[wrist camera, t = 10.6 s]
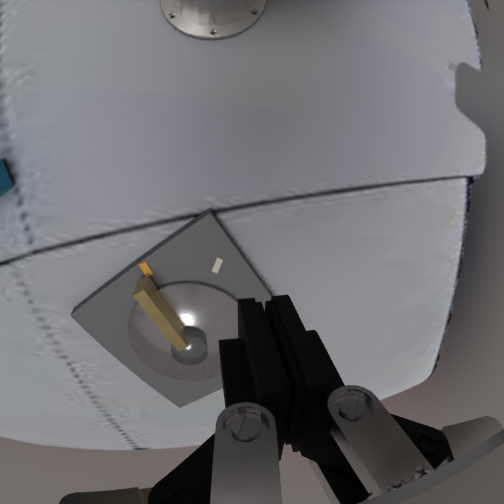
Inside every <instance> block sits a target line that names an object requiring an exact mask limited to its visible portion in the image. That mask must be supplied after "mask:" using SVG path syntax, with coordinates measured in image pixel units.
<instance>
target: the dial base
mask: <svg viewBox="0 0 504 504" xmlns="http://www.w3.org/2000/svg"><path fill="white" fill-rule="evenodd" d="M146 276H149V278H150V279H151V281H152V282H153V283H154V285H155V286H156V288H158V287H160V286H163V285H166V284H170V283H176V282H199V283H204V284H208V285H212V286H215V287H217V288H219V289H222V290H223V291H225V292H227V293H229V294H230V295H231V296H233V297H234V298H235V299H236V300H237V301H238V299H242V298H255V300H256V302H260V301H261V302H262V305H263V307H264V310H265V302H266V301H271V297H272V296H273V295H272V293H271V292H270V291H269V289H268V288H267V287H266V285H265V284H264V283H263V281H262V280H261V278H260V277H259V276H258V274H257V273H256V272H255V270H254V269H253V267H252V266H251V265H250V263H249V262H248V261H247V259H246V258H245V256H244V255H243V254H242V252H241V251H240V250H239V248H238V247H237V245H236V244H235V243H234V241H233V240H232V239H231V237H230V236H229V234H228V233H227V232H226V230H225V229H224V228H223V226H222V225H221V223H220V222H219V221H218V219H217V218H216V216H215V215H214V214H213V212H212V211H211V210H210V208H209V209H208V210H206V211H205V212H204V213H202V214H201V215H199V216H198V217H196V218H195V219H193V220H192V221H190V222H189V223H187V224H186V225H185V226H183V227H182V228H180V229H179V230H177V231H176V232H175V233H173V234H172V235H170V236H169V237H168V238H166V239H165V240H163V241H162V242H160V243H159V244H158V245H156V246H155V247H154V248H152V249H151V250H149V251H148V252H147V253H145V254H144V255H143V256H141V257H140V258H138V259H137V260H136V261H134V262H133V263H132V264H130V265H129V266H128V267H126V268H125V269H124V270H122V271H121V272H120V273H118V274H117V275H116V276H114V277H113V278H112V279H110V280H109V281H108V282H107V283H105V284H104V285H103V286H101V287H100V288H99V289H97V290H96V291H95V292H94V293H92V294H91V295H90V296H89V297H87V298H86V299H85V300H83V301H82V302H81V303H80V304H78V305H77V306H76V307H75V308H74V309H73V311H72V313H71V315H70V316H71V317H72V318H73V319H74V320H75V321H76V322H77V323H79V324H80V325H81V326H82V327H83V328H84V329H85V330H86V331H87V332H88V333H89V334H90V335H91V336H92V337H93V338H94V339H95V340H96V341H97V342H99V343H100V344H101V345H102V346H103V347H104V348H105V349H106V350H107V351H109V352H110V353H111V354H112V355H113V356H114V357H115V358H117V359H118V360H119V361H120V362H121V363H122V364H124V365H125V366H126V367H127V368H128V369H130V370H131V371H132V372H133V373H134V374H136V375H137V376H138V377H139V378H141V379H142V380H143V381H145V382H146V383H147V384H148V385H150V386H151V387H152V388H154V389H155V390H156V391H158V392H159V393H160V394H162V395H163V396H164V397H166V398H167V399H168V400H170V401H171V402H173V403H174V404H175V405H177V406H178V407H183V406H185V405H187V404H189V403H191V402H194V401H196V400H198V399H200V398H202V397H204V396H207V395H209V394H211V393H213V392H215V391H217V390H219V389H221V388H223V384H222V375H220V376H217V377H214V378H210V379H206V380H198V381H185V380H177V379H173V378H169V377H166V376H163V375H161V374H159V373H157V372H155V371H153V370H152V369H150V368H149V367H147V366H146V365H145V364H144V363H143V362H141V361H140V359H139V358H138V357H137V356H136V354H135V353H134V351H133V350H132V348H131V345H130V342H129V339H128V323H129V319H130V315H131V313H132V311H133V309H134V307H135V305H136V304H137V303H138V301H137V300H136V299H135V297H134V296H133V295H134V291H135V288H136V285H137V282H138V281H139V280H140V279H142V278H144V277H146Z"/></svg>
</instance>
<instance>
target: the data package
mask: <svg viewBox="0 0 504 504" xmlns="http://www.w3.org/2000/svg"><path fill="white" fill-rule="evenodd" d="M12 186H13V184H12V181H11V179H10V177H9V174H8V172H7V169H6V167H5V164H4V162H3V159H2V158H0V196H2V195H3V194H4V193H5V192H7V191H8V190H9V189H11V188H12Z"/></svg>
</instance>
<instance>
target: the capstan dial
mask: <svg viewBox="0 0 504 504" xmlns="http://www.w3.org/2000/svg"><path fill="white" fill-rule="evenodd" d="M133 296H134V297H135V299H136V300H137V301H138V303H137V304H136V305H135V307H134V309H133V311H132V313H131V315H130V319H129V323H128V339H129V342H130V345H131V348H132V350H133V351H134V353H135V354H136V356H137V357H138V358H139V359H140V361H141V362H143V363H144V364H145V365H146V366H147V367H149V368H150V369H152V370H153V371H155V372H157V373H159V374H161V375H163V376H166V377H169V378H173V379H177V380H185V381H198V380H206V379H210V378H214V377H217V376H220V375H221V366H220V354H219V340H222V339H235V338H238V301H237V300H236V299H235V298H234V297H233V296H231V295H230V294H229V293H227V292H225V291H223V290H222V289H219V288H217V287H215V286H212V285H208V284H204V283H199V282H176V283H170V284H166V285H163V286H160V287H158V288H156V286H155V285H154V283H153V282H152V281H151V279H150V278H149V276H146V277H144V278H142V279H140V280H139V281H138V282H137V285H136V288H135V291H134V295H133Z"/></svg>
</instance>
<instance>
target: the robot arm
mask: <svg viewBox="0 0 504 504" xmlns="http://www.w3.org/2000/svg"><path fill="white" fill-rule="evenodd" d="M265 3H266V0H160V6H161V11H162V13H163V15H164V17H165V19H166V20H167V22H168V23H169V24H170V25H171V26H172V27H173V28H174V29H176V30H177V31H179V32H181V33H182V34H185V35H187V36H190V37H193V38H198V39H205V40H215V39H224V38H228V37H232V36H234V35H237V34H239V33H241V32H243V31H244V30H246V29H248V28H249V27H250V26H251V25H253V24H254V23H255V22H256V20H257V19H258V18H259V16H260V15H261V13H262V11H263V10H264V7H265ZM252 13H255V15H253V14H252ZM172 16H174V17H175V18H173V19H171V17H172ZM213 32H215V33H216V34H215V35H212V34H211V33H213ZM219 354H220V366H221V375H222V384H223V391H224V399H225V407H226V409H224V410H223V411H222V412H221V413H220V415H219V416H218V419H217V422H216V430H215V433H214V434H213V435H212V436H211V437H210V438H209V439H208V440H207V441H206V442H204V443H203V444H202V445H201V446H200V447H199V448H198V449H197V450H196V451H194V452H193V453H192V454H191V455H190V456H189V457H188V458H186V459H185V460H184V461H183V462H182V463H181V464H179V465H178V466H177V467H176V468H175V469H174V470H172V471H171V472H170V473H169V474H168V475H166V476H165V477H164V478H163V479H162V480H161V481H159V482H158V483H157V484H156V485H155V486H154V487H152V488H145V489H139V488H138V487H134V488H127V489H118V490H108V491H95V492H75V493H71V494H67V495H66V496H64V497H63V498H62V499H61V501H60V503H59V504H282V500H281V486H280V472H279V461H280V460H281V455H282V451H283V445H284V442H285V444H286V445H288V444H291V446H292V449H293V452H297V451H300V452H301V455H302V456H304V457H306V458H308V459H309V461H310V464H311V466H312V468H313V470H314V472H315V474H316V475H317V477H318V479H319V481H320V483H321V485H322V486H323V488H324V490H325V492H326V494H327V495H328V497H329V499H330V501H331V502H332V504H504V429H503V428H502V426H501V424H500V423H499V421H498V420H496V419H495V418H493V417H490V416H485V417H481V418H477V419H473V420H470V421H466V422H462V423H458V424H454V425H449V426H445V427H443V428H442V429H441V430H437V429H435V428H433V427H429V426H426V425H423V424H420V423H417V422H414V421H411V420H408V419H405V418H402V417H399V416H396V415H393V414H390V413H389V412H388V411H387V410H386V408H385V407H384V406H383V404H382V403H381V402H380V401H379V399H378V398H377V397H376V396H375V395H374V394H373V393H372V392H371V391H370V390H368V389H366V388H364V387H360V386H357V385H347V386H345V385H344V383H343V381H342V379H341V377H340V375H339V373H338V371H337V370H336V368H335V366H334V364H333V362H332V360H331V358H330V356H329V354H328V352H327V350H326V348H325V346H324V344H323V342H322V341H321V339H320V337H319V335H318V333H317V332H316V331H315V330H309V331H306V330H305V328H304V326H303V323H302V321H301V319H300V317H299V315H298V313H297V311H296V309H295V307H294V305H293V303H292V301H291V299H290V297H289V295H279V296H272V297H271V301H266V302H265V310H264V307H263V305H262V302H261V301H260V302H256V300H255V298H242V299H238V338H235V339H222V340H219Z"/></svg>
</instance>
